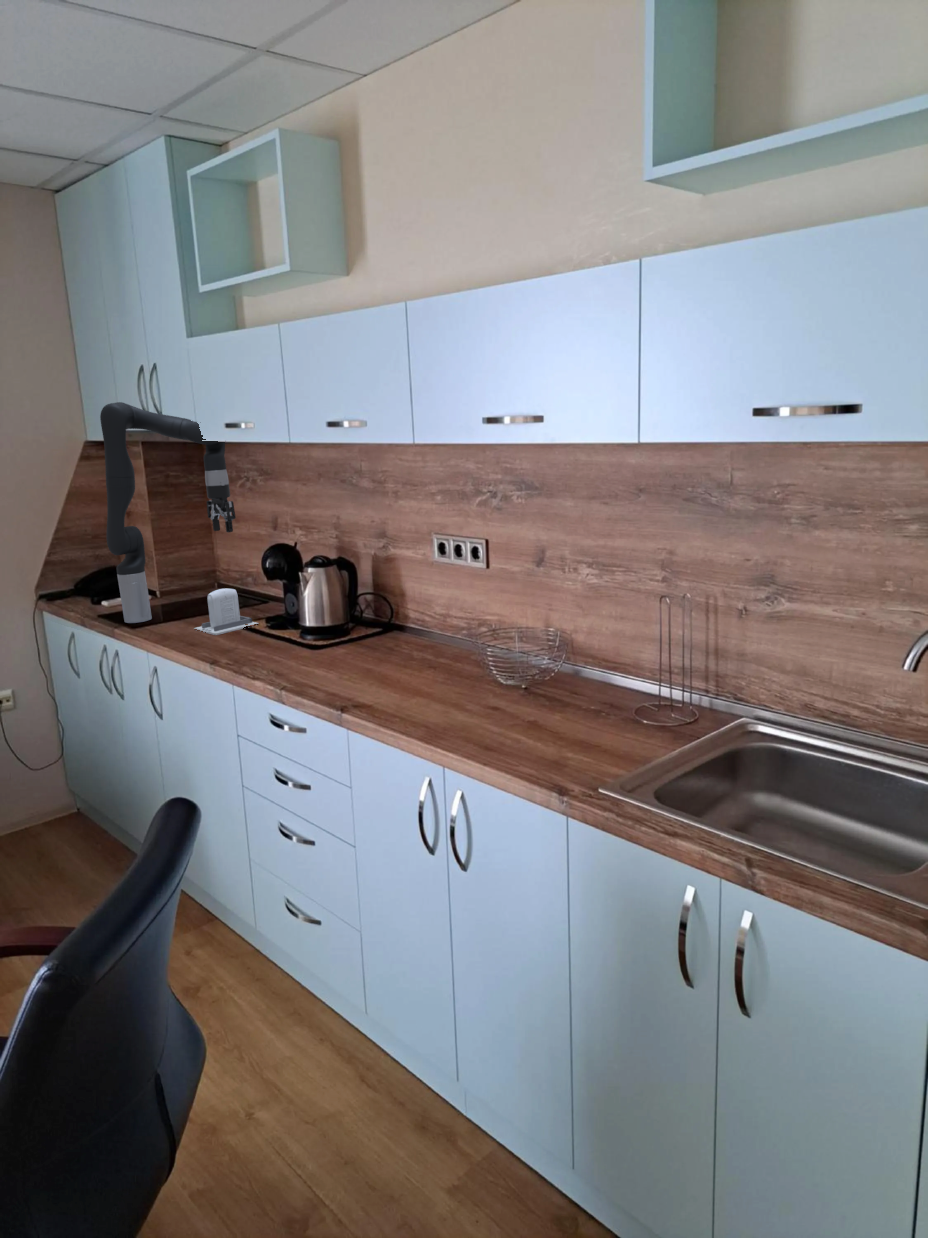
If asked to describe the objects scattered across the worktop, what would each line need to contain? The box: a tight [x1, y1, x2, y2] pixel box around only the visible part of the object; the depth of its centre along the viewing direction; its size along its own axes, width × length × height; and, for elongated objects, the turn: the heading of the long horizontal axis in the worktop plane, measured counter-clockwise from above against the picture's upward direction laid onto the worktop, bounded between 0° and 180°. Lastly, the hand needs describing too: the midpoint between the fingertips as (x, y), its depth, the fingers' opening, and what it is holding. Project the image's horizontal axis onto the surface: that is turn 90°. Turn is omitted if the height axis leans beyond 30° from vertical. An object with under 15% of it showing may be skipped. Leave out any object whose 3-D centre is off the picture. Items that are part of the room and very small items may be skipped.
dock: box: [193, 615, 260, 636], centre depth 298 cm, size 14×16×2 cm
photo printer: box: [206, 587, 241, 628], centre depth 297 cm, size 10×4×12 cm, turn 134°
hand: (223, 531), depth 307 cm, fingers open, 8 cm apart
